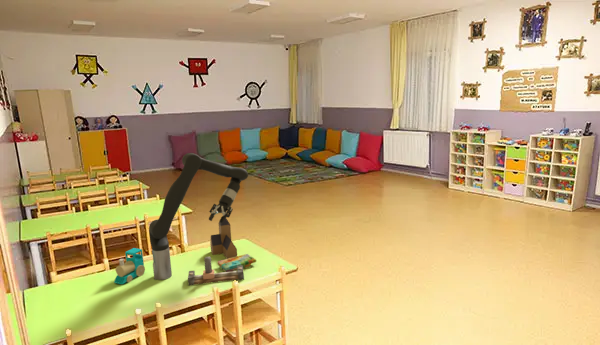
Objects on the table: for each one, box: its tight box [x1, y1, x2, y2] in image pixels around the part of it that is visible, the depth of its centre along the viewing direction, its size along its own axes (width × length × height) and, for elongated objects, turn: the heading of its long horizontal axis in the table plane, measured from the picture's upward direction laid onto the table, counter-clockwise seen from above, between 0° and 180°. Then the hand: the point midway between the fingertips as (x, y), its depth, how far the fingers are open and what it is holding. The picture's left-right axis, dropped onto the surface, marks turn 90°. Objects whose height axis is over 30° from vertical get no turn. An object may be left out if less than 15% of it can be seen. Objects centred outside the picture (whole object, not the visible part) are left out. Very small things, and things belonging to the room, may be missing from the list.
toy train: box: [113, 247, 146, 285], centre depth 231 cm, size 8×17×15 cm, turn 156°
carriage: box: [202, 256, 215, 280], centre depth 227 cm, size 6×6×11 cm
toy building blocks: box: [209, 217, 238, 259], centre depth 260 cm, size 12×19×25 cm, turn 25°
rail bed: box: [187, 265, 245, 286], centre depth 228 cm, size 30×9×5 cm, turn 101°
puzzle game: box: [216, 253, 257, 272], centre depth 244 cm, size 12×5×20 cm
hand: (215, 221), depth 235 cm, fingers open, 8 cm apart
